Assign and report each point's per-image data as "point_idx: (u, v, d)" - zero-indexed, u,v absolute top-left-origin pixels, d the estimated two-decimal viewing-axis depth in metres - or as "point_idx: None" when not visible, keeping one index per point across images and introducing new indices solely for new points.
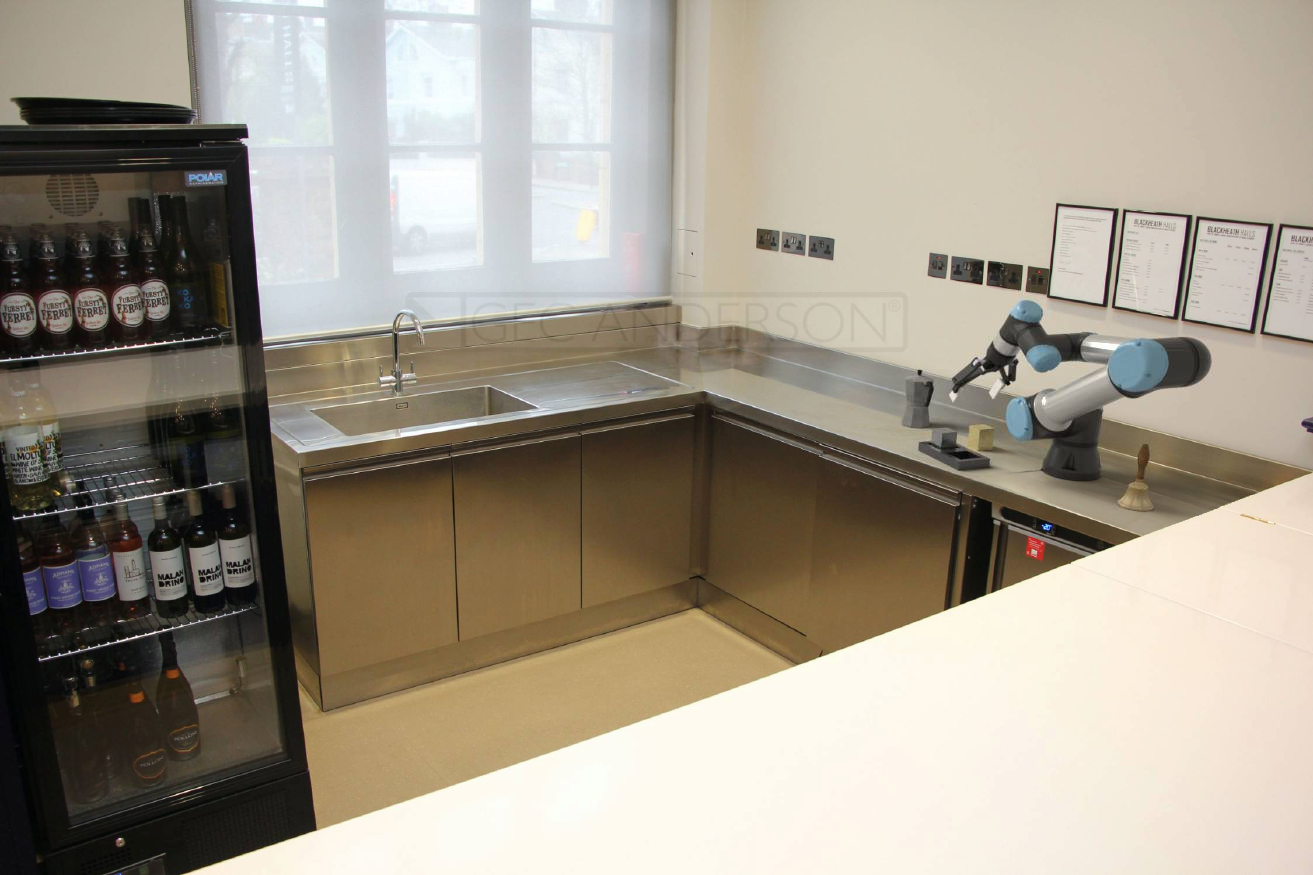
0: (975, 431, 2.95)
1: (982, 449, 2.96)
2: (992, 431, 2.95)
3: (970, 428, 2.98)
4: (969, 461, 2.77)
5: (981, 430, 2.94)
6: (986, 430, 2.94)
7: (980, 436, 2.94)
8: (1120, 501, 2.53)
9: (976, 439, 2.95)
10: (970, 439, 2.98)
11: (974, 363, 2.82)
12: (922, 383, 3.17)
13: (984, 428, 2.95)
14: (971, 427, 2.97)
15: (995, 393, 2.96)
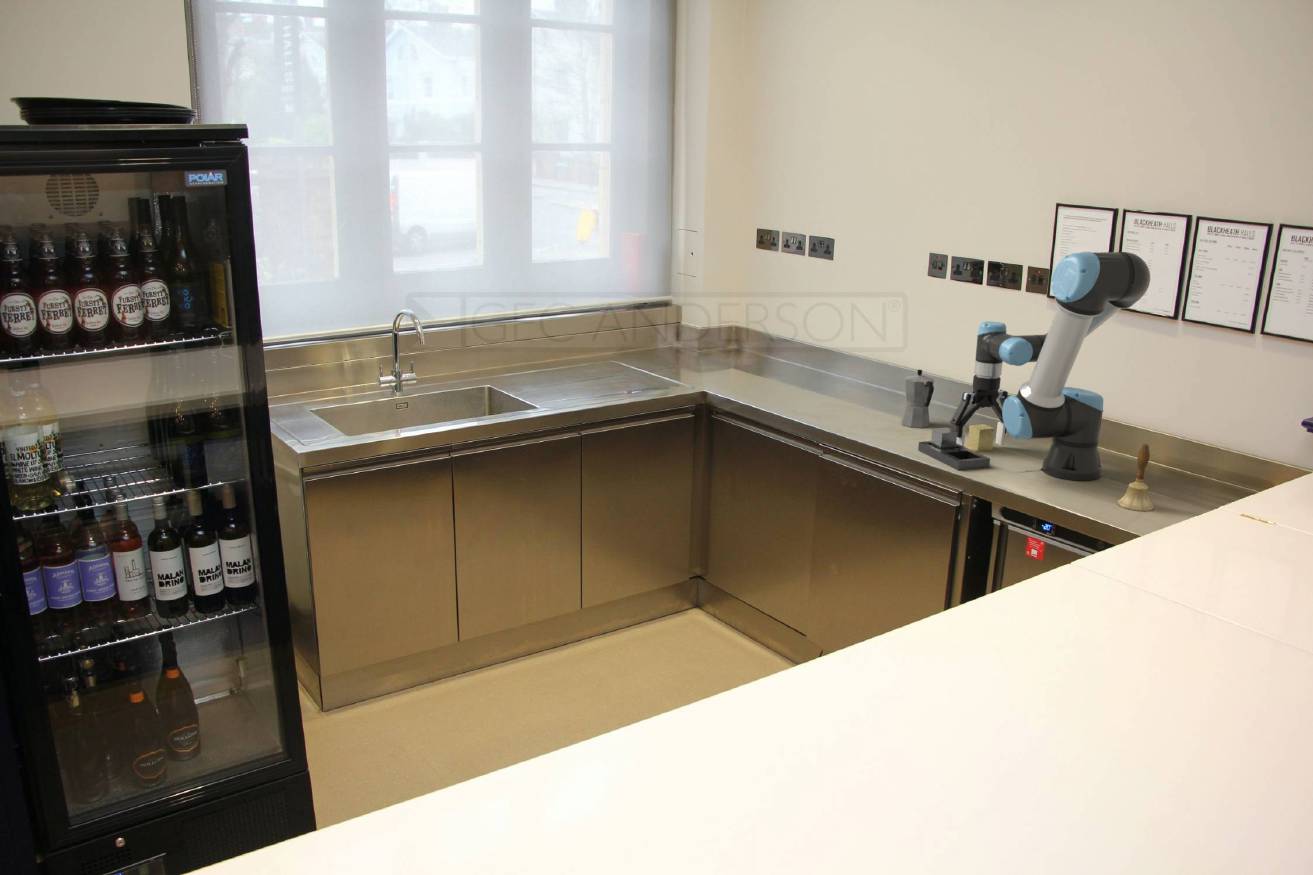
0: (975, 431, 2.95)
1: (982, 449, 2.96)
2: (992, 431, 2.95)
3: (970, 428, 2.98)
4: (969, 461, 2.77)
5: (981, 430, 2.94)
6: (986, 430, 2.94)
7: (980, 436, 2.94)
8: (1120, 501, 2.53)
9: (976, 439, 2.95)
10: (970, 439, 2.98)
11: (964, 397, 2.92)
12: (922, 383, 3.17)
13: (984, 428, 2.95)
14: (971, 427, 2.97)
15: (1000, 438, 2.99)
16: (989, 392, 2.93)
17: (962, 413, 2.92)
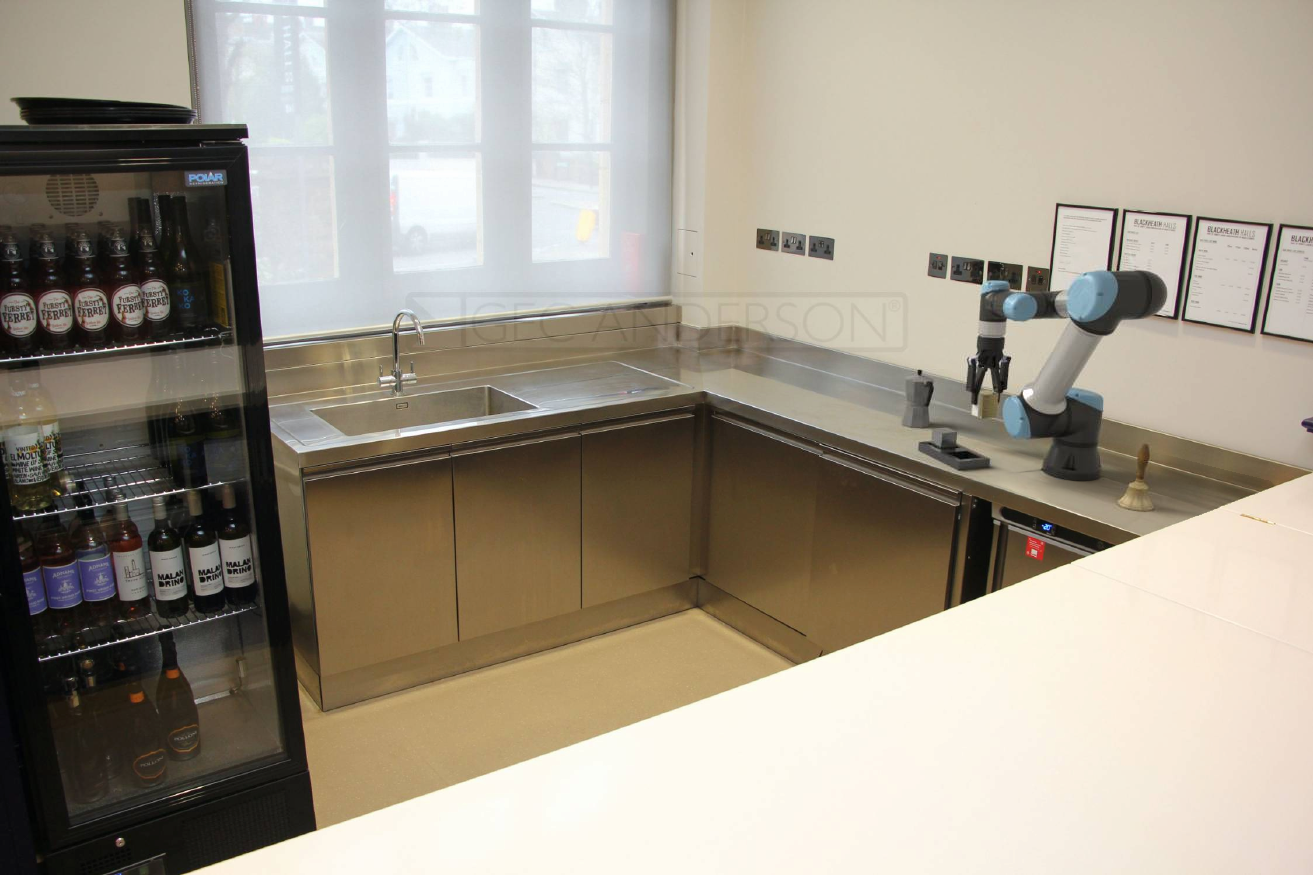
0: None
1: (986, 415, 2.92)
2: (996, 396, 2.92)
3: None
4: (969, 461, 2.77)
5: (985, 395, 2.91)
6: (990, 395, 2.91)
7: (984, 401, 2.91)
8: (1120, 501, 2.53)
9: None
10: None
11: (970, 363, 2.89)
12: (922, 383, 3.17)
13: (988, 393, 2.92)
14: None
15: None
16: (993, 352, 2.89)
17: (973, 379, 2.89)
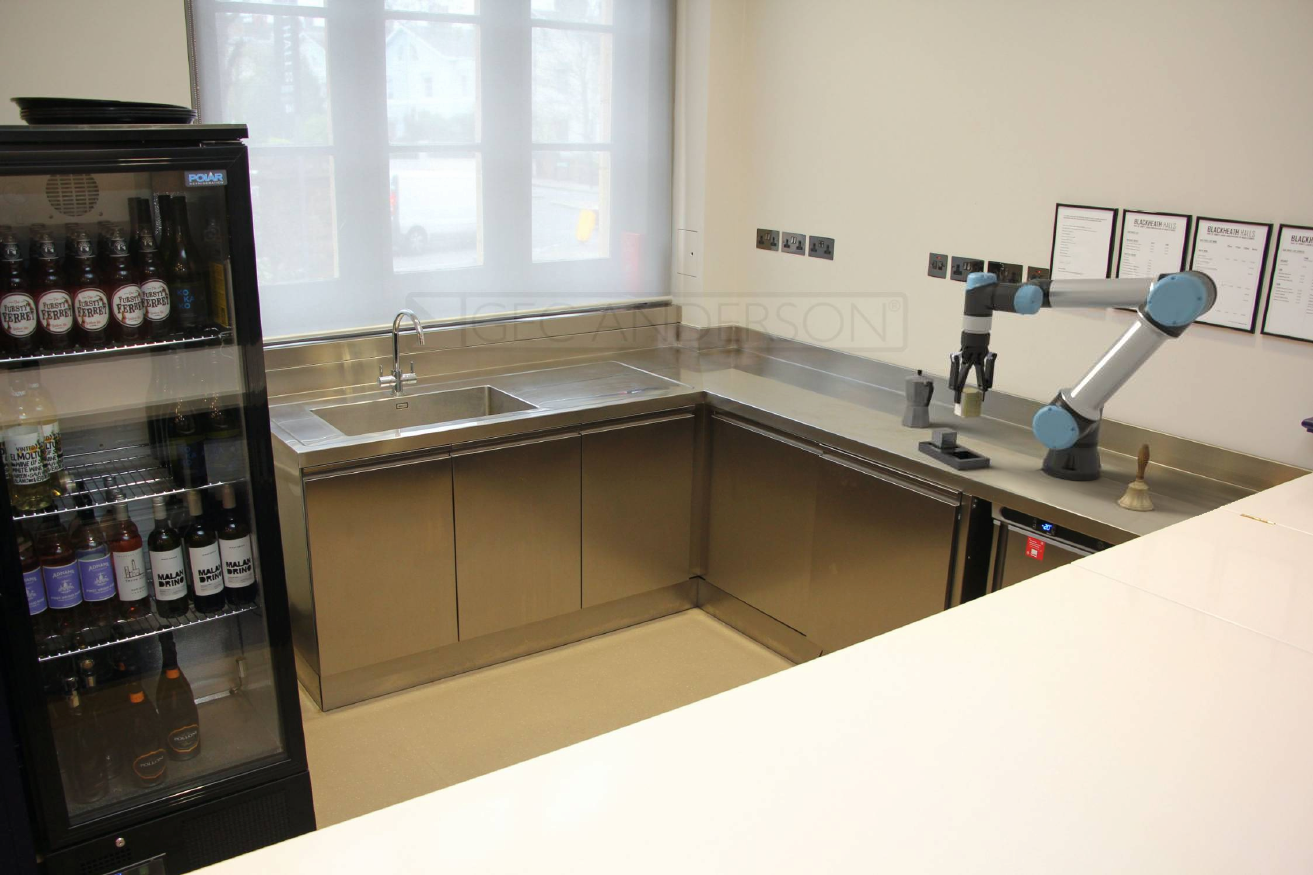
0: None
1: (969, 414, 2.77)
2: (980, 395, 2.76)
3: None
4: (969, 461, 2.77)
5: (968, 394, 2.75)
6: (974, 394, 2.76)
7: (968, 400, 2.76)
8: (1120, 501, 2.53)
9: None
10: None
11: (953, 359, 2.73)
12: (922, 383, 3.17)
13: (972, 392, 2.76)
14: None
15: None
16: (978, 349, 2.74)
17: (956, 376, 2.74)
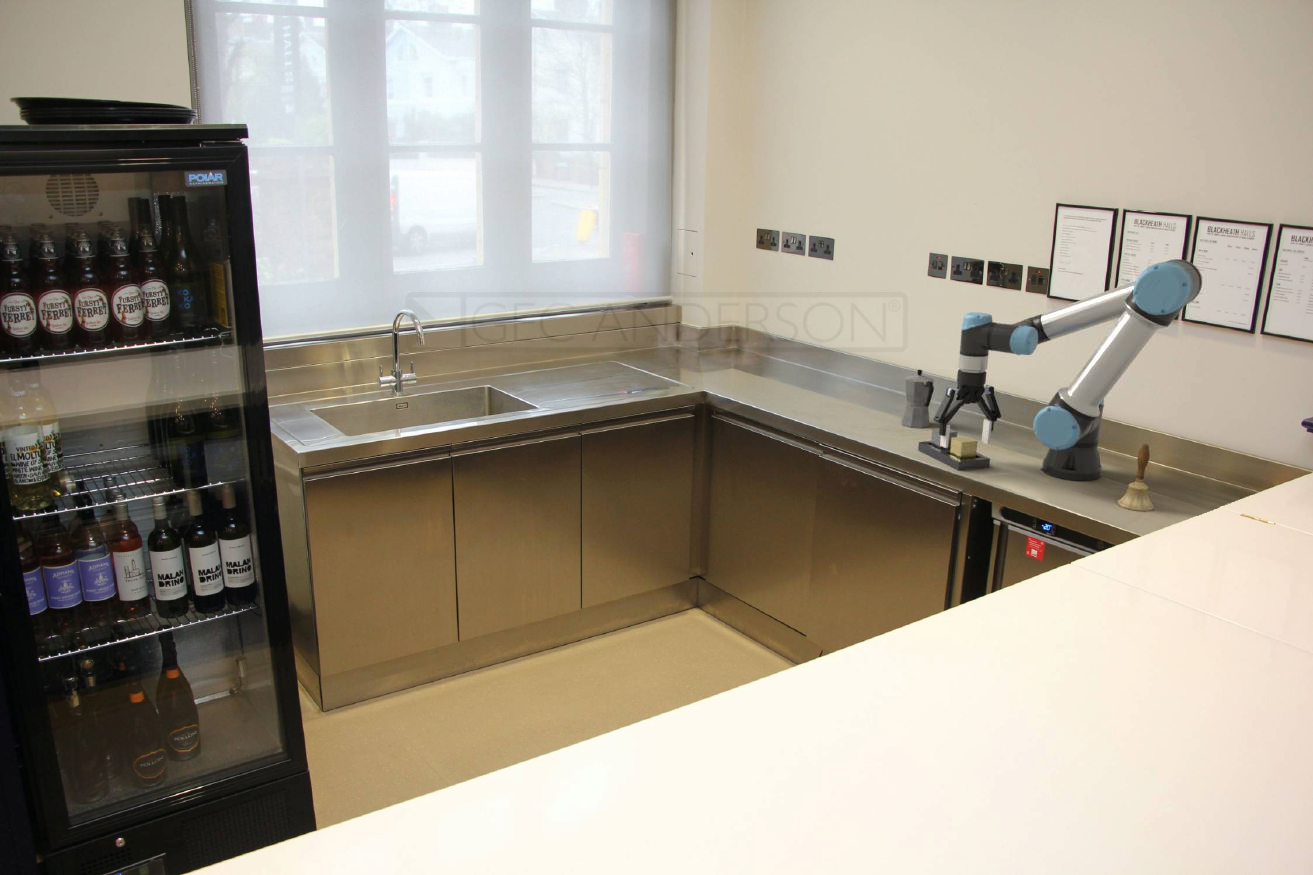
0: (957, 444, 2.80)
1: None
2: (975, 444, 2.80)
3: (952, 440, 2.83)
4: (969, 461, 2.77)
5: (963, 443, 2.79)
6: (969, 443, 2.79)
7: (963, 449, 2.79)
8: (1120, 501, 2.53)
9: (958, 452, 2.80)
10: (952, 452, 2.83)
11: (948, 393, 2.75)
12: (922, 383, 3.17)
13: (966, 441, 2.80)
14: (953, 439, 2.82)
15: (987, 436, 2.82)
16: (974, 387, 2.76)
17: (946, 410, 2.75)
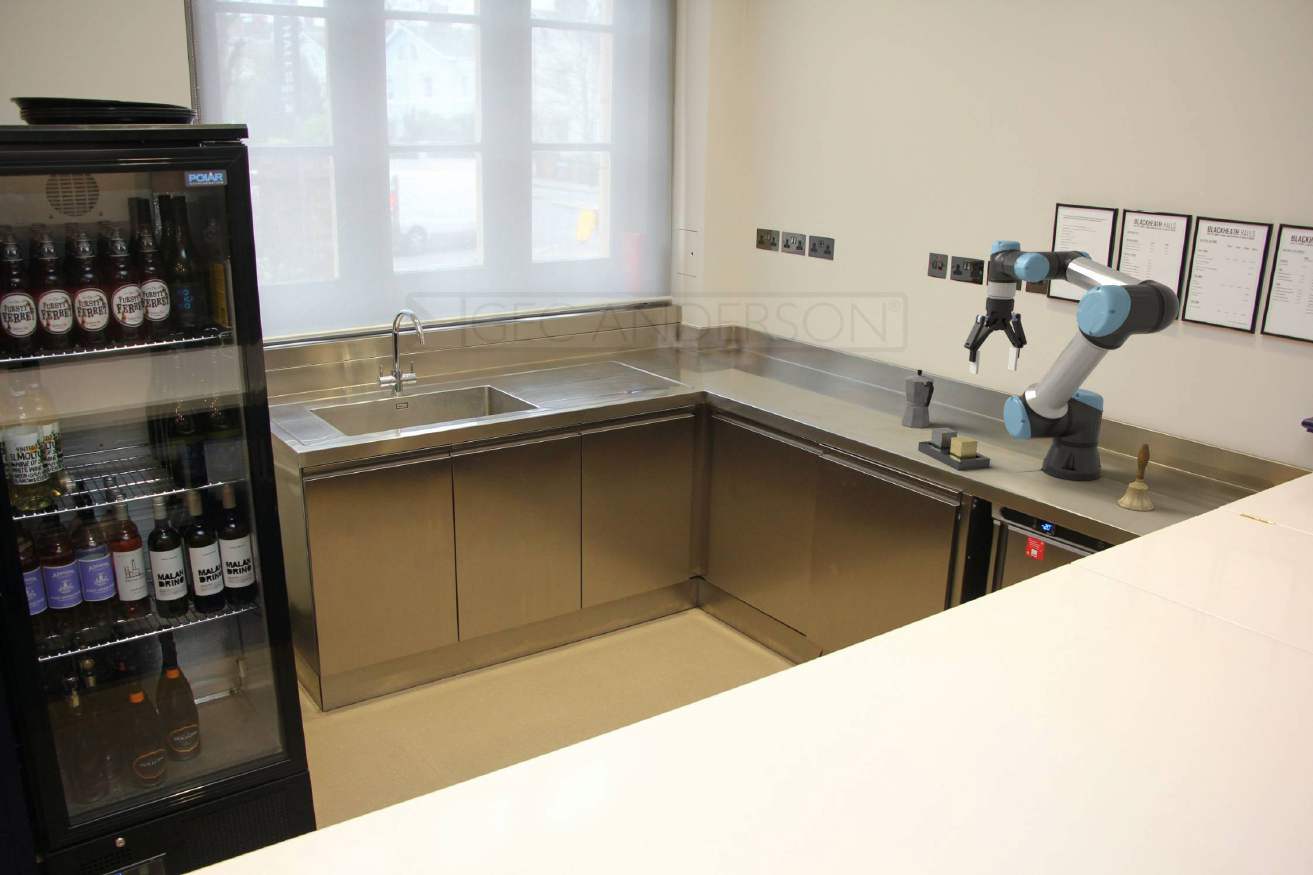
0: (957, 444, 2.80)
1: None
2: (975, 444, 2.80)
3: (952, 440, 2.83)
4: (969, 461, 2.77)
5: (963, 443, 2.79)
6: (969, 443, 2.79)
7: (963, 449, 2.79)
8: (1120, 501, 2.53)
9: (958, 452, 2.80)
10: (952, 452, 2.83)
11: (978, 319, 2.82)
12: (922, 383, 3.17)
13: (966, 441, 2.80)
14: (953, 439, 2.82)
15: (1013, 363, 2.89)
16: (1003, 314, 2.83)
17: (976, 336, 2.81)
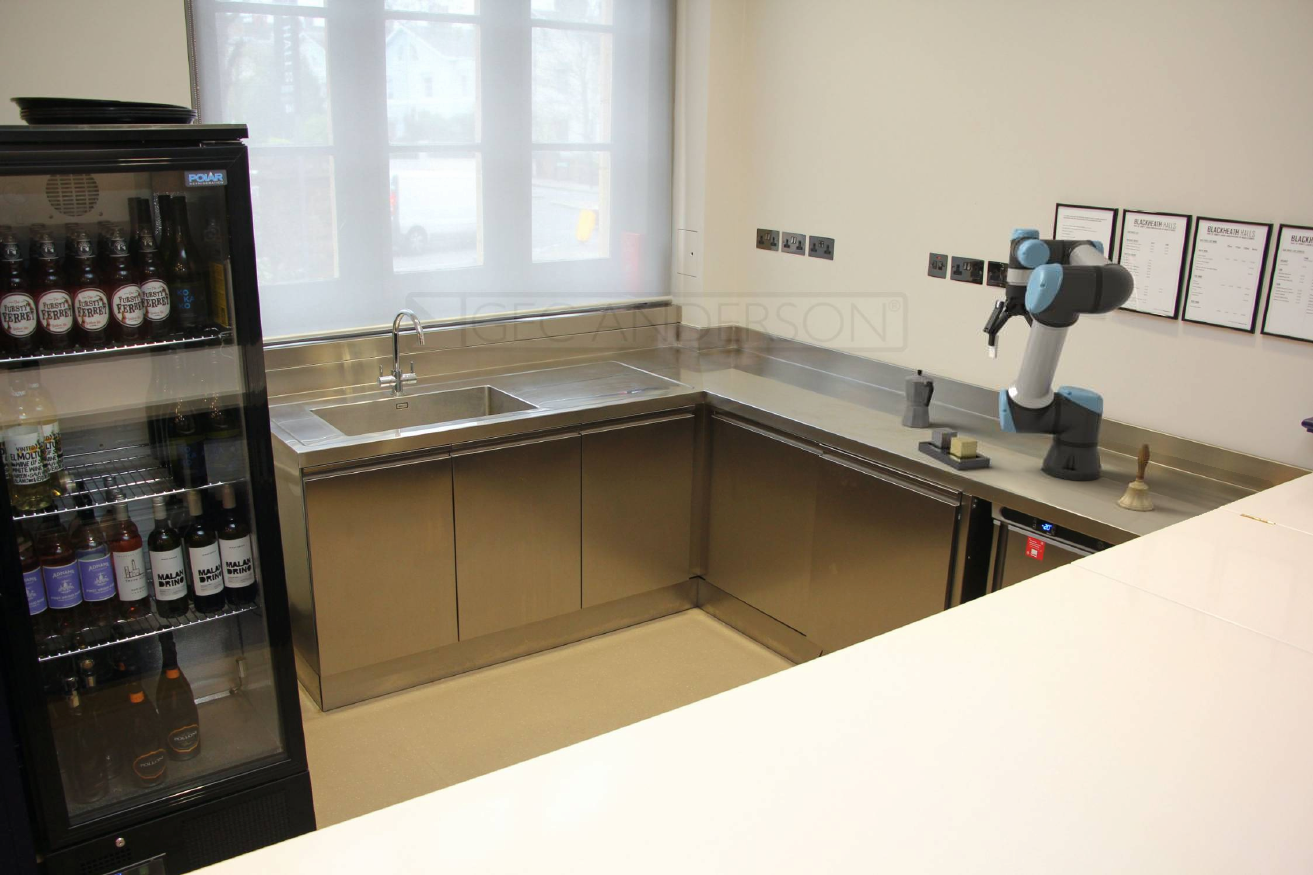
0: (957, 444, 2.80)
1: None
2: (975, 444, 2.80)
3: (952, 440, 2.83)
4: (969, 461, 2.77)
5: (963, 443, 2.79)
6: (969, 443, 2.79)
7: (963, 449, 2.79)
8: (1120, 501, 2.53)
9: (958, 452, 2.80)
10: (952, 452, 2.83)
11: (997, 305, 2.92)
12: (922, 383, 3.17)
13: (966, 441, 2.80)
14: (953, 439, 2.82)
15: None
16: (1022, 300, 2.93)
17: (995, 321, 2.92)
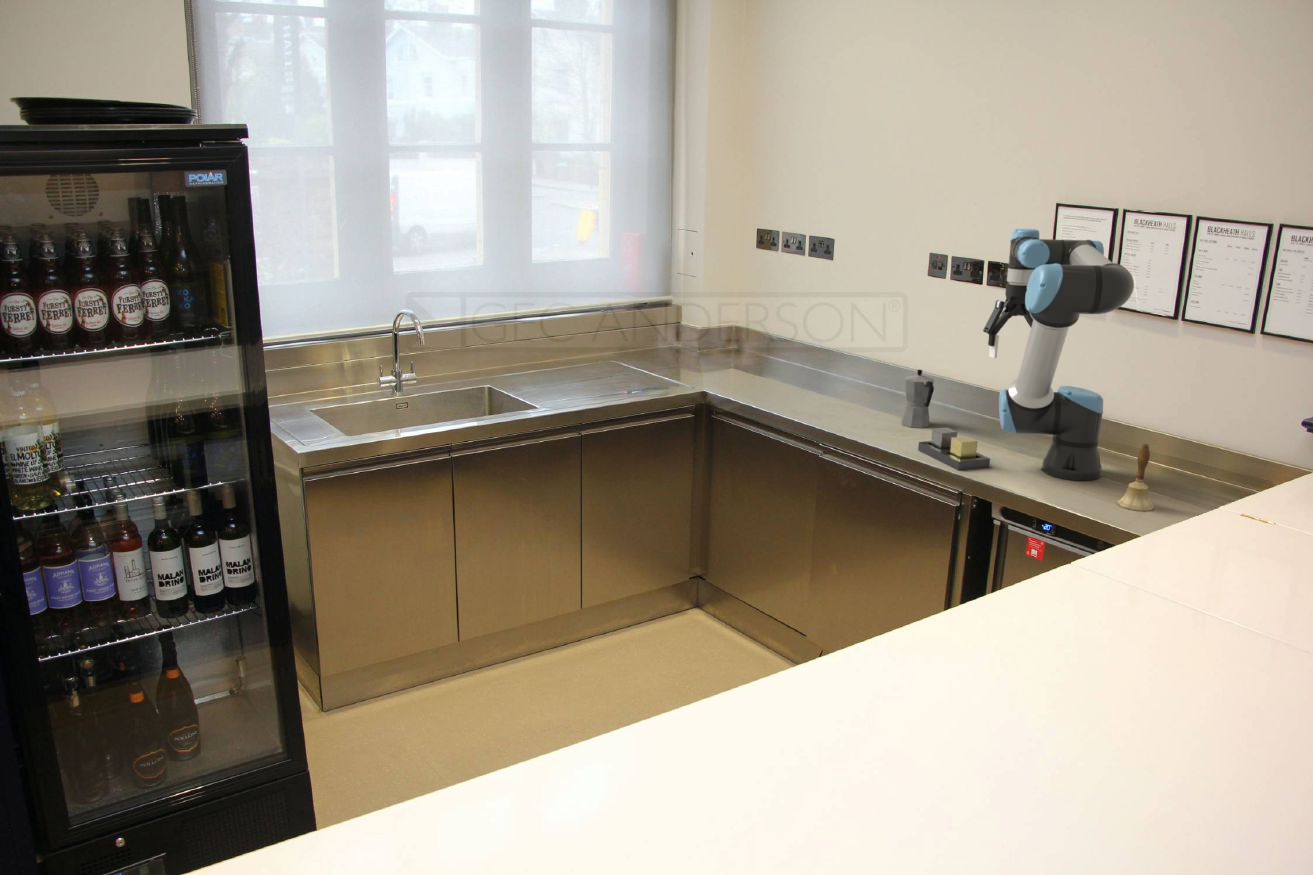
0: (957, 444, 2.80)
1: None
2: (975, 444, 2.80)
3: (952, 440, 2.83)
4: (969, 461, 2.77)
5: (963, 443, 2.79)
6: (969, 443, 2.79)
7: (963, 449, 2.79)
8: (1120, 501, 2.53)
9: (958, 452, 2.80)
10: (952, 452, 2.83)
11: (997, 305, 2.92)
12: (922, 383, 3.17)
13: (966, 441, 2.80)
14: (953, 439, 2.82)
15: None
16: (1022, 300, 2.93)
17: (995, 321, 2.92)
